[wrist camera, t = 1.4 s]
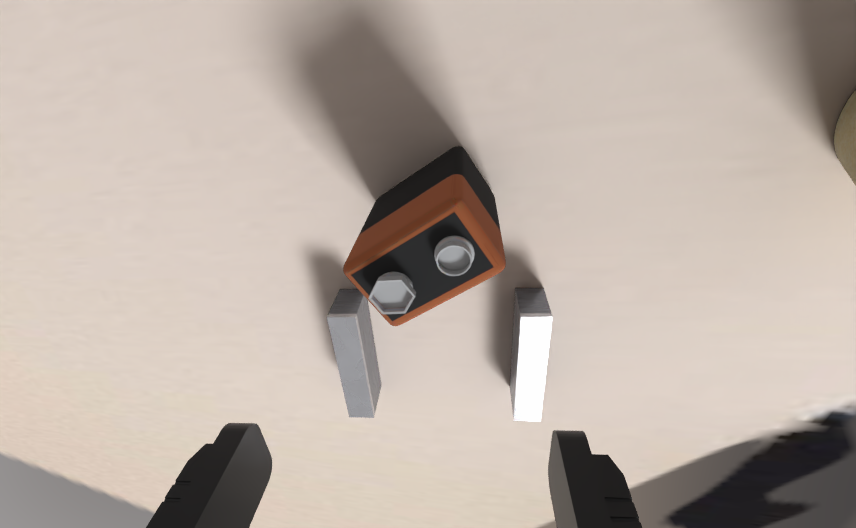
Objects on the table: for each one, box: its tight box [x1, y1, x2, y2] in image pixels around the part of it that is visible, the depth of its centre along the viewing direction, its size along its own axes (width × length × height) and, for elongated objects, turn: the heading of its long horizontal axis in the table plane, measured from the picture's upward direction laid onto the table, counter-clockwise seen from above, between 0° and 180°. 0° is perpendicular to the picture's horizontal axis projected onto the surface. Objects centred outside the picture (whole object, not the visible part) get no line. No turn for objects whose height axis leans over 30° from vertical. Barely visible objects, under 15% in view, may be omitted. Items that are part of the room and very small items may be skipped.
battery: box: [343, 146, 506, 326], centre depth 22 cm, size 4×7×10 cm, turn 125°
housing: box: [327, 288, 552, 421], centre depth 31 cm, size 10×15×3 cm, turn 93°
